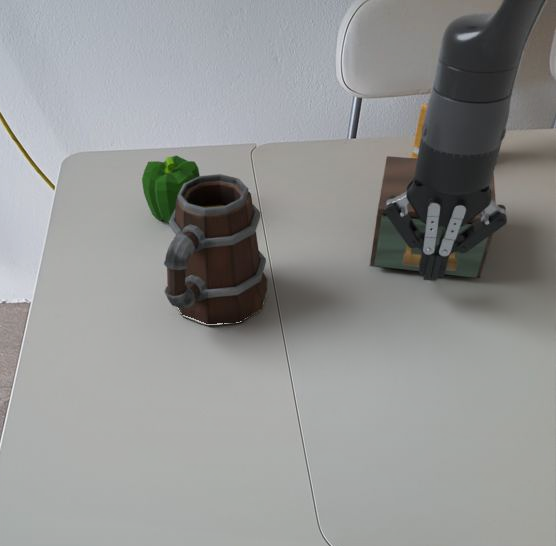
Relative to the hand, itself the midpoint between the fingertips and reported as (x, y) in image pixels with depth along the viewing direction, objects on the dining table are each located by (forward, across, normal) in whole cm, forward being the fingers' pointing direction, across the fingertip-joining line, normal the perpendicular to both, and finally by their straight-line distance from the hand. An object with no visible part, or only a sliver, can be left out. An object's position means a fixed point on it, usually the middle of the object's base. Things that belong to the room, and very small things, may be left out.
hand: (429, 276), depth 75 cm
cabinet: (+4, 0, -14) cm, 14 cm away
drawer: (+3, 0, -10) cm, 10 cm away
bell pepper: (+4, +36, -14) cm, 39 cm away
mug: (+5, +25, +5) cm, 26 cm away
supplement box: (+4, +1, -35) cm, 35 cm away
